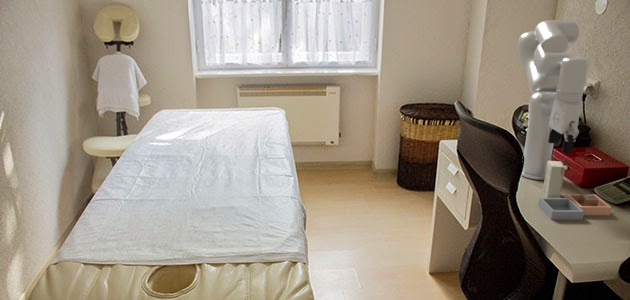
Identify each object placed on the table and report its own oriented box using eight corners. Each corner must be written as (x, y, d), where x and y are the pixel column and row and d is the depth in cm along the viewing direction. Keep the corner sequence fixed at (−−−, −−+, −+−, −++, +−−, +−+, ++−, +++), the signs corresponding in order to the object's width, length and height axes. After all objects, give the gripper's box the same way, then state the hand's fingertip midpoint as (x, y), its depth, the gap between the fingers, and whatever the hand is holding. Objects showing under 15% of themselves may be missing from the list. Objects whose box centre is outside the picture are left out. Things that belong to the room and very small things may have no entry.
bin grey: (537, 207, 162) (539, 198, 160) (567, 207, 162) (569, 198, 160) (550, 221, 153) (552, 211, 151) (582, 221, 153) (584, 211, 151)
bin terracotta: (564, 203, 164) (566, 194, 163) (593, 204, 164) (595, 194, 163) (578, 217, 155) (580, 207, 154) (609, 217, 155) (611, 207, 154)
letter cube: (577, 205, 161) (579, 193, 160) (589, 205, 161) (592, 194, 160) (583, 211, 158) (585, 199, 156) (596, 211, 158) (598, 199, 156)
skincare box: (559, 201, 166) (566, 167, 162) (546, 200, 167) (551, 166, 163) (555, 194, 172) (561, 160, 168) (541, 192, 173) (547, 159, 169)
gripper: (545, 90, 166) (537, 139, 171) (569, 103, 149) (560, 157, 155) (567, 90, 166) (559, 139, 171) (595, 103, 149) (584, 157, 155)
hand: (559, 147), depth 163 cm, fingers open, 9 cm apart
